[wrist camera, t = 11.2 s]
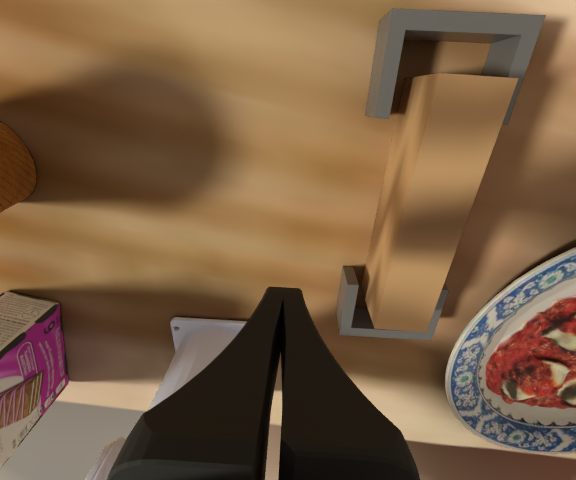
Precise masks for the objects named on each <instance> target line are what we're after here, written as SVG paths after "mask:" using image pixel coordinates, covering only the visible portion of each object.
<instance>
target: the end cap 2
mask: <svg viewBox="0 0 576 480" xmlns="http://www.w3.org/2000/svg"><path fill="white" fill-rule="evenodd" d="M545 16H546V15H529V14H506V13H484V12H461V11H438V10H415V9H393V8H392V9H391V10H390V11H389V12H388V13H387V14H386V15H385V16H384V17H383V18H382V19H380V20H379V26H378V33H377V40H376V46H375V53H374V60H373V67H372V73H371V80H370V87H369V94H368V100H367V107H366V114H365V115H366V116H369V117H373V118H384V119H389V117H390V112H391V106H392V101H393V95H394V90H395V84H396V79H397V73H398V68H399V62H400V57H401V51H402V46H403V40H404V39H408V40H430V41H452V42H474V43H491V46H490V50H489V53H488V57H487V60H486V63H485V67H484V70H483V74H482V76H491V77H506V78H519V79H518V81H517V84H516V87H515V90H514V92H513V95H512V98H511V101H510V103H509V106H508V109H507V112H506V114H505V117H504V120H503V123H502V124H506V125H507V124H508V121H509V119H510V116H511V113H512V110H513V107H514V104H515V101H516V99H517V96H518V93H519V90H520V87H521V84H522V82H523V79H524V76H525V73H526V70H527V67H528V65H529V62H530V59H531V56H532V53H533V50H534V47H535V45H536V42H537V39H538V36H539V33H540V30H541V28H542V25H543V22H544V19H545Z"/></svg>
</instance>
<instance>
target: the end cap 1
mask: <svg viewBox="0 0 576 480" xmlns="http://www.w3.org/2000/svg"><path fill="white" fill-rule="evenodd" d="M358 287H359V284H358V281H357V278H356V275H355V271H354V268H353V267H348V266H343V269H342V276H341V283H340V289H339V296H338V303H337V310H336V317H337V323H338V329H339V335H348V336H365V337H382V338H399V339H416V340H432V337H433V334H434V332H435V329H436V326H437V323H438V320H439V317H440V315H441V312H442V309H443V306H444V303H445V300H446V297H447V295H448V292H449V290H448V288H447V287H446V286H445V284H444V285H443V288H442V290H441V293H440V296H439V299H438V301H437V304H436V307H435V310H434V313H433V315H432V318H431V321H430V324H429V326H428V329H427V332H415V331H401V330H387V329H374V326H373V323H372V320H371V316H370V313H369V310H368V308H356V307H355V303H356V298H357V292H358Z"/></svg>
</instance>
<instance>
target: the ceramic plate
mask: <svg viewBox="0 0 576 480" xmlns="http://www.w3.org/2000/svg"><path fill="white" fill-rule="evenodd" d="M445 389H446V395H447V399H448V402H449V405H450V407H451V409H452V411H453V413H454V415H455V416H456V417H457V419H458V420H459V421H460V422H461V423H462V424H463V425H464V426H465V427H466V428H467V429H468V430H470V431H471V432H472V433H473V434H475V435H477V436H478V437H480V438H482V439H484V440H486V441H488V442H491V443H493V444H496V445H499V446H502V447H505V448H510V449H514V450H519V451H524V452H532V453H545V454H565V453H576V247H575V248H573V249H571V250H569V251H566V252H564V253H562V254H560V255H558V256H556V257H554V258H552V259H550V260H548V261H546V262H544V263H542V264H541V265H539V266H537V267H536V268H534V269H533V270H531V271H529V272H528V273H526V274H524V275H523V276H521V277H520V278H518V279H516V280H515V281H514V282H512V283H511V284H510V285H509V286H507V287H506V288H505V289H504V290H502V291H501V292H500V293H499V294H497V295H496V296H495V297H494V298H493V299H491V300H490V301H489V302H488V303H487V304H486V305H485V306H484V307H483V308H482V309H481V310H480V311H479V312H478V313H477V315H476V316H475V317H474V318H473V319H472V320H471V321H470V323H469V324H468V325H467V327H466V328H465V329H464V331H463V332H462V334H461V335H460V337H459V339H458V340H457V342H456V344H455V346H454V348H453V350H452V352H451V355H450V358H449V361H448V364H447V368H446V374H445Z"/></svg>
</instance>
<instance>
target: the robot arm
mask: <svg viewBox="0 0 576 480" xmlns="http://www.w3.org/2000/svg"><path fill="white" fill-rule="evenodd" d="M170 324H171V330H172V335H173V341H174V347H175V352H176V353H175V355H174V357H173V359H172V361H171V364H170V366H169V368H168V370H167V372H166V374H165V376H164V378H163V380H162V382H161V384H160V386H159V388H158V391H157V393H156V395H155V397H154V399H153V401H152V403H151V405H150V407H149V409H148V411H147V412H145V413H144V414H143V415H142V416H141V417H140V419H139V420H138V422H137V423H136V425H135V426H134V428H133V430H132V431H131V433H130V434H129V436H128V437H127V438H126V437H119V438H118V439H117V440H116V441H113V442H111V443H110V444H108V445H106V446H105V448H104V449H103V450H102V452H101V453H100V455H99V456H98V458H97V460H96V461H95V463H94V464H93V466H92V468H91V470H90V471H89V473H88V475H87V477H86V478H85V480H265V471H266V459H267V446H268V435H269V423H270V413H271V405H272V399H273V393H274V387H275V381H276V376H277V370H278V364H279V358H280V352H281V367H282V426H281V443H280V462H279V480H420V478H419V473H418V470H417V467H416V464H415V462H414V459H413V457H412V454H411V452H410V450H409V447H408V445H407V443H406V441H405V439H404V437H403V435H402V433H401V431H400V430H399V429H398V428H397V427H396V426H395V425H394V424H393V423H392V422H391V421H389V420H388V419H387V418H386V417H385V416H384V415H383V414H382V413H381V412H380V411H379V410H378V409H377V408H376V407H375V406H374V405H373V404H372V403H371V402H370V401H369V400H368V399H367V398H366V397H365V396H364V395H363V393H362V392H361V391H360V390H359V389H358V388H357V386H356V385H355V384H354V383H353V382H352V380H351V379H350V378H349V377H348V376H347V375H346V373H345V372H344V371H343V369H342V368H341V367H340V365H339V364H338V363H337V361H336V360H335V358H334V357H333V356H332V354H331V353H330V351H329V349H328V348H327V346H326V345H325V343H324V341H323V340H322V338H321V336H320V334H319V333H318V331H317V329H316V327H315V325H314V323H313V321H312V319H311V316H310V314H309V312H308V309H307V307H306V304H305V301H304V298H303V294H302V291H301V290H300V289H299V288H283V287H268V288H267V289H266V292H265V294H264V296H263V298H262V300H261V301H260V303H259V305H258V306H257V308H256V309H255V311H254V312H253V314H252V315H251V317H250V318H249V320H248V321H233V320H216V319H199V318H181V317H174V318H173V319H172V320H171V323H170ZM176 326H177V327H179V328H177V327H176Z"/></svg>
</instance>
